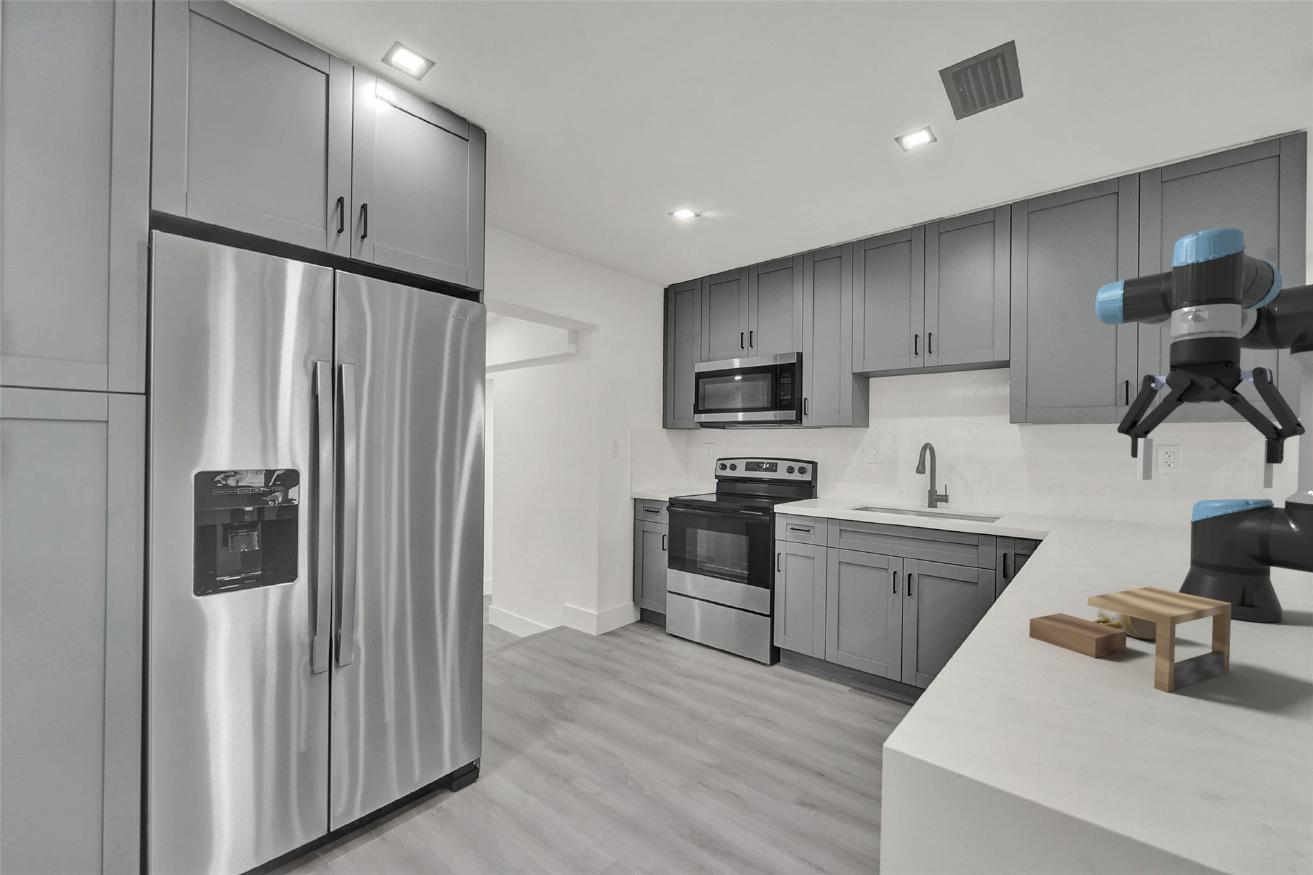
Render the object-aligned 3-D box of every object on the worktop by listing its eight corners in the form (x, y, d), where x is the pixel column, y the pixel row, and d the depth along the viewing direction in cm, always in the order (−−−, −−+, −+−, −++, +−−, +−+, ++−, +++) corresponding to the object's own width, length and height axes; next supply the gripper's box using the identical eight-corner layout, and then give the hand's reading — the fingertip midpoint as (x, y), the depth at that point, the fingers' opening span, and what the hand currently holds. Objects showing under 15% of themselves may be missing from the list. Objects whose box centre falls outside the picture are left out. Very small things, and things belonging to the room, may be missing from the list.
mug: (1113, 622, 108) (1147, 584, 104) (1147, 663, 100) (1186, 623, 95) (1076, 612, 108) (1108, 572, 104) (1106, 652, 100) (1143, 611, 95)
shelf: (1147, 648, 94) (1149, 586, 94) (1229, 671, 85) (1231, 603, 85) (1085, 664, 86) (1087, 597, 86) (1167, 692, 77) (1170, 617, 77)
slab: (1059, 632, 102) (1060, 613, 102) (1125, 652, 93) (1126, 630, 93) (1029, 639, 98) (1029, 618, 98) (1094, 660, 89) (1095, 638, 89)
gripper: (1094, 347, 93) (1090, 476, 94) (1320, 322, 71) (1314, 492, 71) (1119, 351, 97) (1115, 476, 97) (1343, 328, 74) (1337, 491, 74)
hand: (1199, 483), depth 84 cm, fingers open, 13 cm apart
